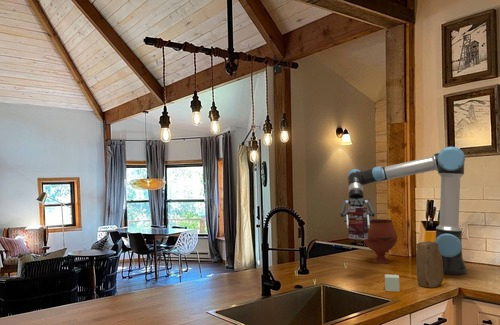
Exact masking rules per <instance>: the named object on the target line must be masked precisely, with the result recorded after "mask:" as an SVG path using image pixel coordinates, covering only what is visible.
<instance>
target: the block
mask: <svg viewBox="0 0 500 325" xmlns="http://www.w3.org/2000/svg"><path fill="white" fill-rule="evenodd" d="M415 253H416V257H415V260H416V279H417V283H418V285H420V286H421V287H424V288H428V289H429V288H432V289H433V288H437V287H440V286H441V285H442V283H443V281H444V274H443V260H442V256H441V254H440V251H439V250H438V244H437V243H436V242H435V241H429V240H428V241H420V242H418V243H416V252H415Z"/></svg>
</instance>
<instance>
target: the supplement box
mask: <svg viewBox="0 0 500 325" xmlns="http://www.w3.org/2000/svg"><path fill="white" fill-rule="evenodd" d="M347 209H348V226H349V228H347V229H348V239H353V240H362V241H364V240H365V239H368V224H367V209H368V206H365V207H349V206H348V207H347Z"/></svg>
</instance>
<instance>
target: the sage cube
mask: <svg viewBox="0 0 500 325" xmlns="http://www.w3.org/2000/svg"><path fill="white" fill-rule="evenodd" d="M400 285H401V284H400V276H399V274H387V273H385V274H384V286H385V288H384V290H385V292H386V291H387V292H401V291H400Z"/></svg>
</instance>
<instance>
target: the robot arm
mask: <svg viewBox="0 0 500 325" xmlns="http://www.w3.org/2000/svg"><path fill="white" fill-rule="evenodd" d="M465 161H466V156H465V153H464V151H462V149H460V148H459V147H456V146H447V147H444V148H442V149H441V150H440V151H439V152H437V153H433V154H432V156H429V157H428V156H427V157H423V158H420V159H415V160H410V161H404V162H401V163H397V164H396V163H394V164H392V165H387V166H379V165H378V166H375V167H371V168H368V169H365V170H360V169H358V168H353V169H351V170H349V171H348V173H347V181H348V182H347V185H348V186H347V187H348V200H346V199H343V200H342V207H341V209H340V217H343V218H344V219H343V220H344V223H346V229H348V228H349V226H348V208H347V209H346V206H347V205H348V204H349V206H348V207H366V205H367V224H368V228H370V224H369V222H371V219H372V218H373V217H375V210H374V208H373V206H372V204H371V199H367V200H366V199H364V185H368V184H373V183H380V182H385V181H389V180H392V179H393V180H394V179H398V178H405V177H408V176H412V175H417V174H418V175H419V174H423V173H428V172H433V171H436V172H437V174H438V175H439V176H440V198H439V200H440V201H439V202H440V203H439V223H438V224H439V225H437V226H436V227H435V241H434V242H436V243H437V244H438V250H439V251H440V254H441V256H442V260H443V275H454V276H455V275H465V274H467V272H468V270H467V266H466V263H465V261H464V258H463V247H462V246H463V244H462V238H463V237H462V235H463V234H462V233H463V229H462V228H461V227H460V226H459V225H460V198H461V197H460V196H461V194H460V192H461V178H462V177H463V176H464V175H465ZM365 204H366V205H365Z"/></svg>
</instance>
